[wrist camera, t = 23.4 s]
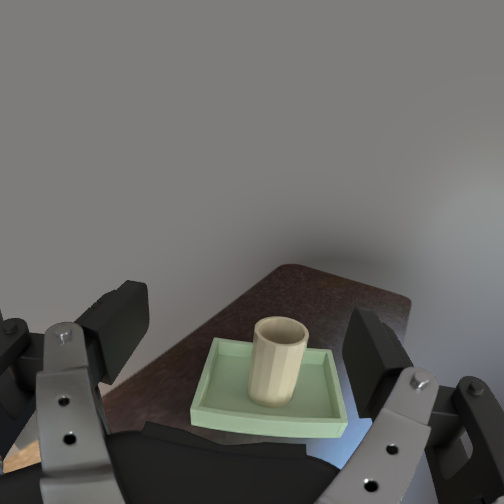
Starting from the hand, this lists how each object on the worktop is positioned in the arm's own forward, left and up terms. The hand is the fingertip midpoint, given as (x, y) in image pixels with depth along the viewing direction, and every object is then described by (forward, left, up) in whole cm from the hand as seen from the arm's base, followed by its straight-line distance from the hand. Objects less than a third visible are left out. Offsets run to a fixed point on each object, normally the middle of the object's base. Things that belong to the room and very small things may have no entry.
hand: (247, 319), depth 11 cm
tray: (+3, +18, -23) cm, 29 cm away
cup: (+3, +18, -22) cm, 29 cm away
